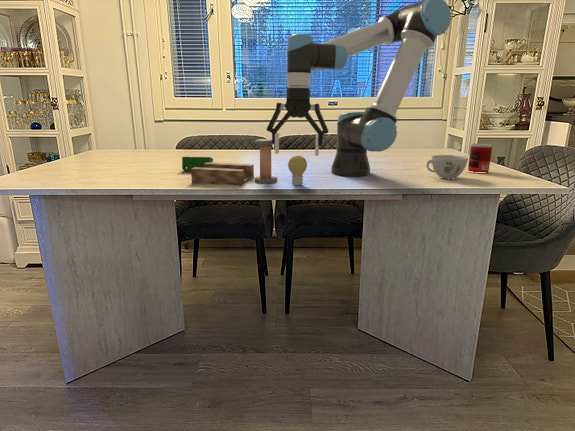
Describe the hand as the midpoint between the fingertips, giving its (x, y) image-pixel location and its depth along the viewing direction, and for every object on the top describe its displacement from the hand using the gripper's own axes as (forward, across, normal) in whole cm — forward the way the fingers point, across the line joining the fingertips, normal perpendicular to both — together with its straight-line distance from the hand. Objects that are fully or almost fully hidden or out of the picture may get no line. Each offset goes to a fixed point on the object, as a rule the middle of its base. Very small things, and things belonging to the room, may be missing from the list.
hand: (296, 154), depth 134 cm
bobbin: (+11, +12, -3) cm, 16 cm away
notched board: (+11, +26, -1) cm, 29 cm away
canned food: (+9, -66, -42) cm, 79 cm away
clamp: (+11, +44, -17) cm, 48 cm away
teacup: (+10, -52, -26) cm, 59 cm away
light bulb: (+11, 0, 0) cm, 11 cm away
